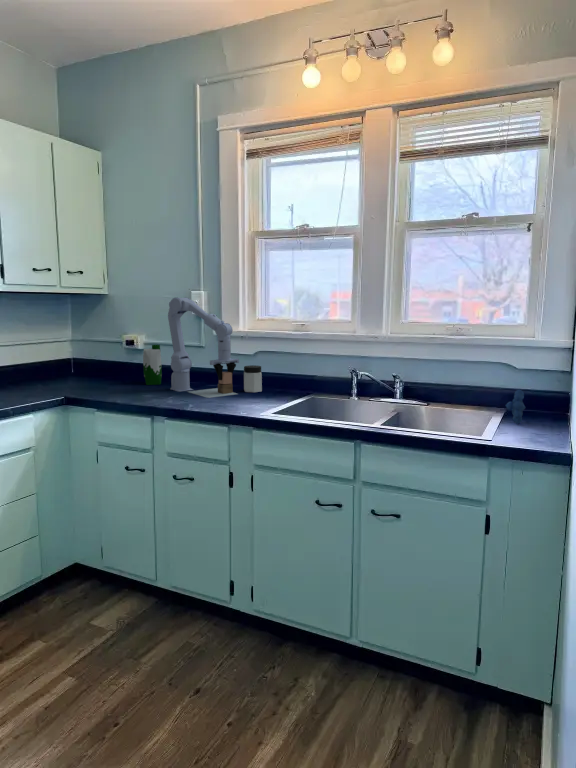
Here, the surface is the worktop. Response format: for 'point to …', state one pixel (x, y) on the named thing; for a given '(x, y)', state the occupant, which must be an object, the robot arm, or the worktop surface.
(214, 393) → the mat
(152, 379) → the milk carton
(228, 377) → the terracotta block
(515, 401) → the grapes
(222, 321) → the robot arm
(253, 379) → the jar
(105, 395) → the worktop surface
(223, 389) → the walnut block
